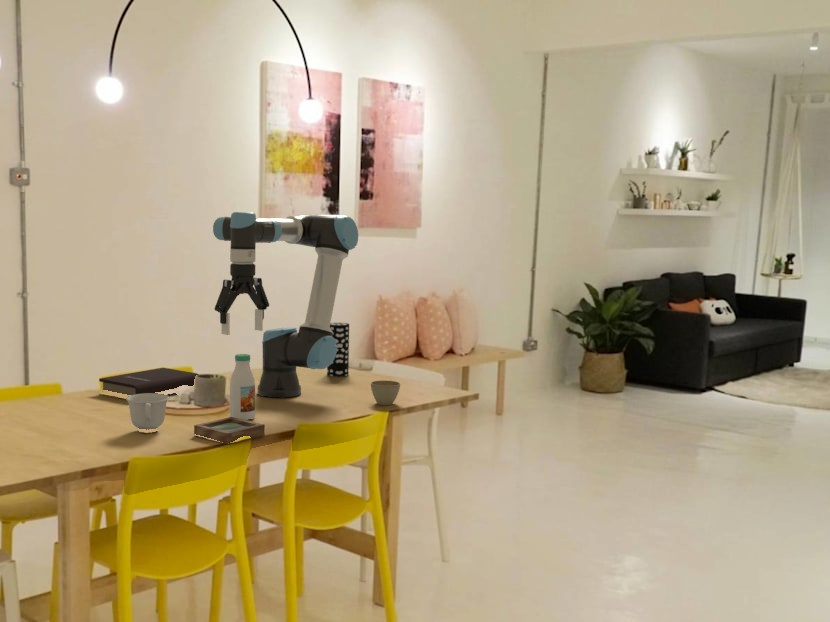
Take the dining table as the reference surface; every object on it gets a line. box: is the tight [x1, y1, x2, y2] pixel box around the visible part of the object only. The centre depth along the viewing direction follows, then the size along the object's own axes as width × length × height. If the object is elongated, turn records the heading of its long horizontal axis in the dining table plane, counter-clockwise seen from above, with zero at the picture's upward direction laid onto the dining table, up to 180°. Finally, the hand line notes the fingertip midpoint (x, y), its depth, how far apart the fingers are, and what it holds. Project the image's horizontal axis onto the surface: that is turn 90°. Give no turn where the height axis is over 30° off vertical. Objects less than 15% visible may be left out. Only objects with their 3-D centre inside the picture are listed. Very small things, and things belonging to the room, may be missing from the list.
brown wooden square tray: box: [193, 416, 266, 445], centre depth 268 cm, size 14×14×3 cm
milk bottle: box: [229, 353, 256, 421], centre depth 288 cm, size 8×8×20 cm
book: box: [99, 367, 200, 395], centre depth 325 cm, size 28×20×6 cm
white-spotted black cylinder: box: [326, 322, 350, 378], centre depth 364 cm, size 8×8×20 cm
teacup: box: [125, 393, 170, 430], centre depth 269 cm, size 12×15×10 cm
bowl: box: [370, 379, 401, 406], centre depth 315 cm, size 10×10×7 cm
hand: (242, 332), depth 286 cm, fingers open, 13 cm apart
